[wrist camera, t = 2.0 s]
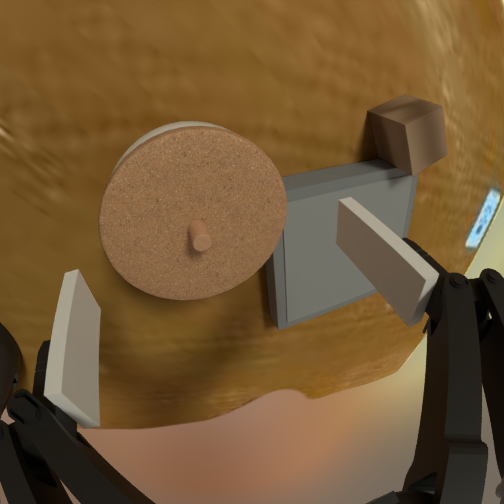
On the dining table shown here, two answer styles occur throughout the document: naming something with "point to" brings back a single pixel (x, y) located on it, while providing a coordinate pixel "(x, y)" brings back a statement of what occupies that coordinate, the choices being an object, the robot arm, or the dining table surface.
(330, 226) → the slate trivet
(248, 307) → the dining table surface
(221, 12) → the dining table surface
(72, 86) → the dining table surface
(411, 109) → the walnut block
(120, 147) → the dining table surface
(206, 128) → the lidded jar
